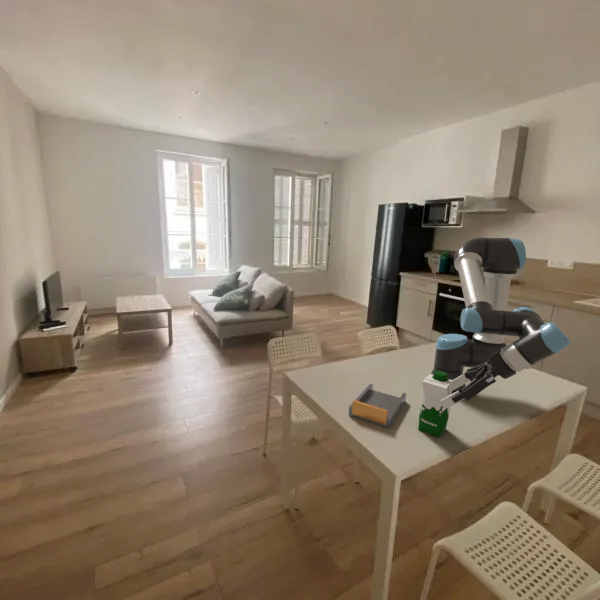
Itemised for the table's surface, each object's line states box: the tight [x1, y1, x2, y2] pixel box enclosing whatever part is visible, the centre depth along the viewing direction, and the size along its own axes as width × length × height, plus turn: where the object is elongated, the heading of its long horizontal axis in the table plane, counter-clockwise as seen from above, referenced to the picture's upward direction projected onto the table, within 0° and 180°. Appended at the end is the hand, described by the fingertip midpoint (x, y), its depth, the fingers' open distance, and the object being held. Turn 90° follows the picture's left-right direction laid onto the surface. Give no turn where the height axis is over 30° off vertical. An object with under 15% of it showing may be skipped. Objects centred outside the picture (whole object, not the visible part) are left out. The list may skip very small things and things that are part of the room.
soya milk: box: [417, 370, 453, 439], centre depth 108 cm, size 9×9×20 cm
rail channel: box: [348, 383, 407, 430], centre depth 122 cm, size 22×15×6 cm
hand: (446, 395), depth 104 cm, fingers open, 13 cm apart
